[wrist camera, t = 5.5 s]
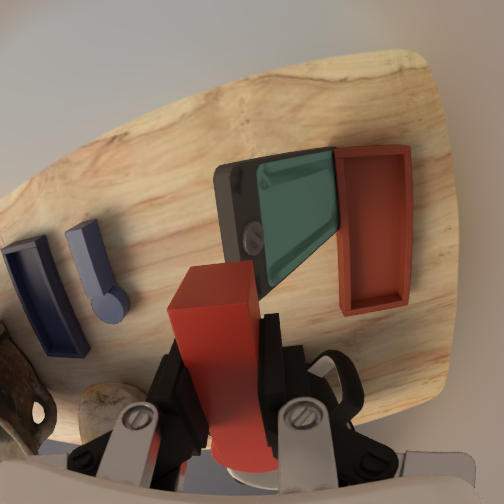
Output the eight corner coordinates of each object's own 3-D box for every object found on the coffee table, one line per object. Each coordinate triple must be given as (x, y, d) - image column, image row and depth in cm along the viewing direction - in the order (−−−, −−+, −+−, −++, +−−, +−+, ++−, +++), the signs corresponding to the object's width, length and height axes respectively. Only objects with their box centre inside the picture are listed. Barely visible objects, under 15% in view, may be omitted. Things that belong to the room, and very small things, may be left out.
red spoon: (166, 269, 11) (136, 311, 8) (278, 256, 10) (284, 298, 8) (223, 448, 14) (218, 491, 12) (295, 444, 14) (299, 489, 11)
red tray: (328, 149, 24) (334, 150, 22) (400, 144, 24) (410, 145, 22) (339, 306, 30) (344, 317, 28) (400, 295, 29) (408, 305, 27)
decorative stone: (90, 362, 34) (41, 446, 20) (142, 354, 33) (97, 455, 19) (154, 440, 40) (132, 516, 26) (202, 437, 39) (188, 522, 25)
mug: (228, 425, 38) (221, 497, 26) (204, 337, 32) (182, 426, 21) (346, 414, 36) (362, 486, 25) (357, 323, 31) (391, 407, 20)
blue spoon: (73, 224, 28) (57, 233, 25) (103, 217, 27) (89, 226, 24) (105, 316, 31) (94, 331, 29) (134, 314, 31) (125, 330, 28)
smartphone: (231, 165, 13) (339, 146, 24) (210, 167, 13) (326, 146, 25) (251, 315, 15) (344, 229, 27) (231, 310, 16) (331, 228, 27)
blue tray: (10, 243, 29) (0, 249, 27) (45, 234, 28) (34, 240, 26) (54, 347, 34) (47, 356, 32) (90, 348, 33) (84, 358, 32)
